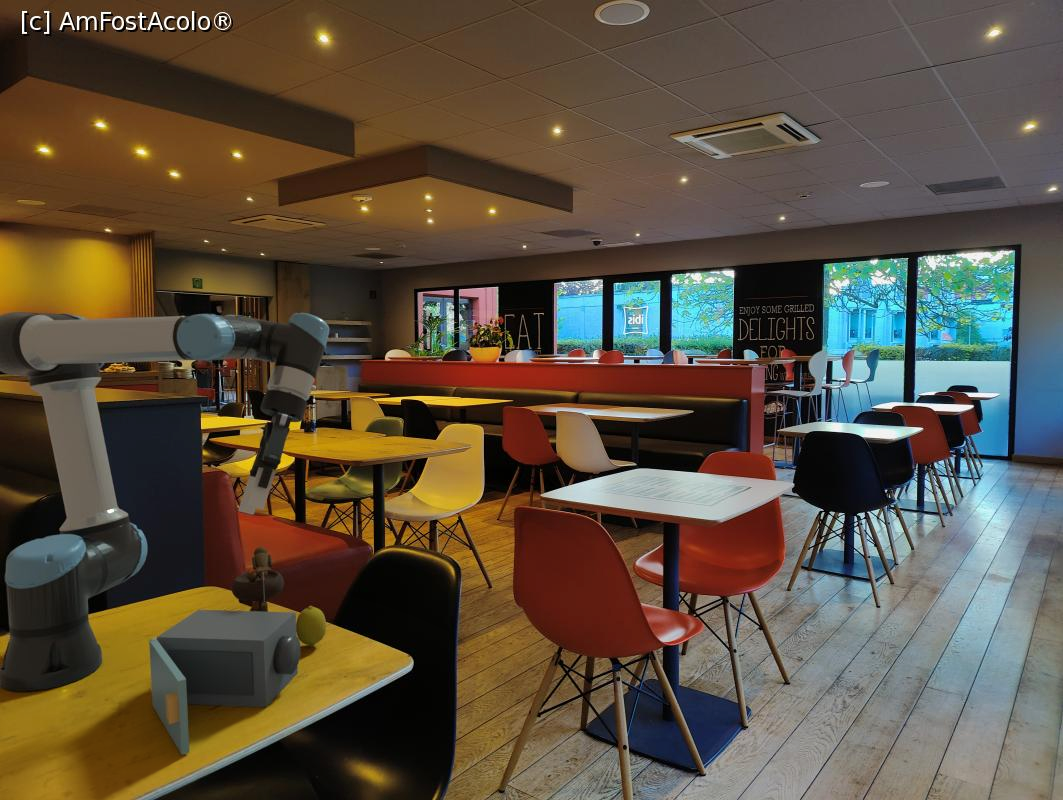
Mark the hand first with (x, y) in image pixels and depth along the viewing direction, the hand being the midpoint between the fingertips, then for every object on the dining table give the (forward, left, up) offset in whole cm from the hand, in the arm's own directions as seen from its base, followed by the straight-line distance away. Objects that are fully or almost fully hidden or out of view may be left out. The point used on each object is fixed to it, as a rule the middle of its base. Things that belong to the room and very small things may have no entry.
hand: (250, 510), depth 121 cm
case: (-1, -4, -30) cm, 30 cm away
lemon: (+5, +13, -30) cm, 33 cm away
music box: (-5, +12, -30) cm, 33 cm away
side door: (-6, -17, -29) cm, 34 cm away
